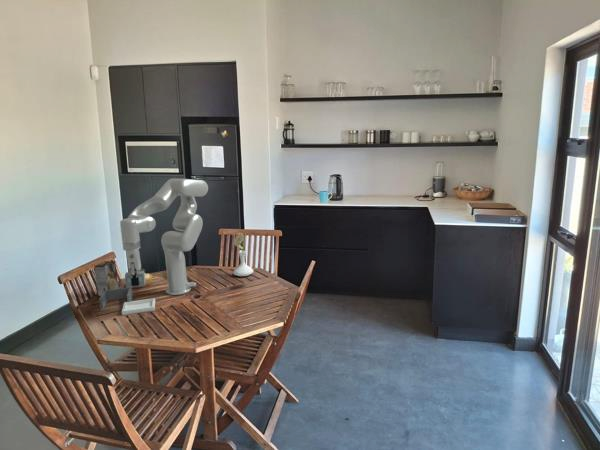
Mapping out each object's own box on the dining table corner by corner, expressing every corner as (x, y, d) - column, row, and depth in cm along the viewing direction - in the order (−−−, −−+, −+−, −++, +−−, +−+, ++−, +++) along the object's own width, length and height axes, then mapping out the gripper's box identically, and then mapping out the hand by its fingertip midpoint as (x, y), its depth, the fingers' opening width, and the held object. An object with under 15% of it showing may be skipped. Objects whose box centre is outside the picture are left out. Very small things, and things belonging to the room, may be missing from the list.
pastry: (125, 288, 241) (123, 272, 239) (141, 281, 252) (138, 265, 250) (143, 289, 237) (140, 273, 235) (158, 282, 247) (155, 266, 245)
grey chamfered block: (145, 282, 211) (144, 270, 209) (144, 286, 206) (143, 273, 205) (127, 284, 208) (125, 272, 207) (126, 288, 204) (124, 275, 202)
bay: (133, 296, 227) (131, 286, 226) (130, 305, 214) (129, 295, 213) (104, 300, 223) (103, 290, 222) (100, 309, 210) (99, 299, 209)
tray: (155, 302, 217) (155, 298, 217) (154, 311, 206) (154, 306, 205) (124, 306, 213) (124, 302, 213) (122, 315, 202) (121, 311, 202)
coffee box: (108, 289, 239) (104, 260, 235) (119, 290, 237) (115, 260, 234) (97, 295, 230) (93, 265, 227) (109, 296, 228) (104, 266, 225)
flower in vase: (232, 273, 258) (229, 230, 253) (252, 270, 260) (249, 228, 255) (234, 279, 245) (231, 235, 240) (255, 277, 248) (252, 233, 243)
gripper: (139, 248, 196) (143, 288, 200) (141, 240, 213) (145, 277, 216) (120, 250, 194) (125, 290, 198) (124, 242, 211) (129, 279, 214)
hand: (135, 283), depth 207 cm, fingers closed on grey chamfered block, 5 cm apart
